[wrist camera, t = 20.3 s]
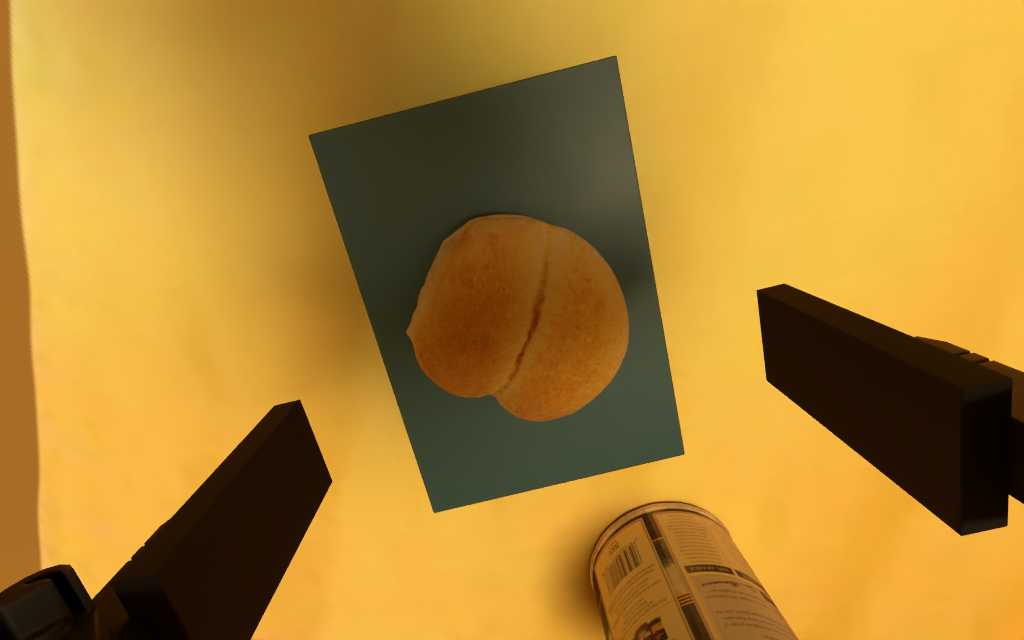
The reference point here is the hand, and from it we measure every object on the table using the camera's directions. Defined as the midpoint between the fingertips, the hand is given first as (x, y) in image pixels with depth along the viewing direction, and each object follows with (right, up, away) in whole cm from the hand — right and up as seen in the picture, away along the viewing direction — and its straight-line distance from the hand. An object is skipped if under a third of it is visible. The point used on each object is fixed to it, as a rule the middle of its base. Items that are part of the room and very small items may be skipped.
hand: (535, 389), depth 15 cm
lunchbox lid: (-1, +3, +9) cm, 10 cm away
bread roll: (-1, +2, +9) cm, 9 cm away
